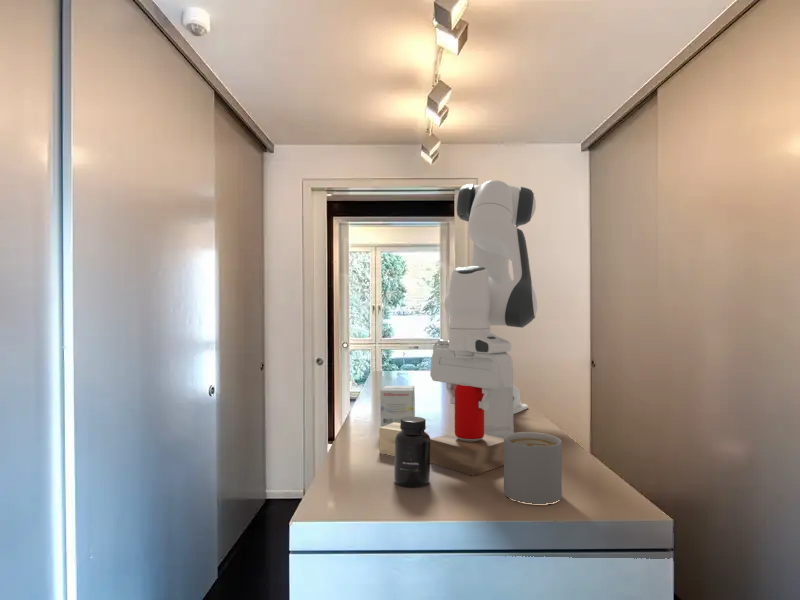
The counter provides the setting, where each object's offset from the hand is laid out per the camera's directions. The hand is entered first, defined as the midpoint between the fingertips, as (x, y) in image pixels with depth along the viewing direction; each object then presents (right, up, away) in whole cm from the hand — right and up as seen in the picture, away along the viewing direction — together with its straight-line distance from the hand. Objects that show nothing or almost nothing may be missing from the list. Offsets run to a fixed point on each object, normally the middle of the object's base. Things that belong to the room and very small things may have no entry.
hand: (469, 406), depth 111 cm
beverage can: (0, -7, 0) cm, 7 cm away
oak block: (-15, -12, +8) cm, 21 cm away
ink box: (-15, -12, +27) cm, 33 cm away
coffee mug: (+9, -12, -16) cm, 22 cm away
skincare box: (+9, -12, +21) cm, 26 cm away
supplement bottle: (-12, -12, -11) cm, 21 cm away
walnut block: (0, -12, 0) cm, 12 cm away
